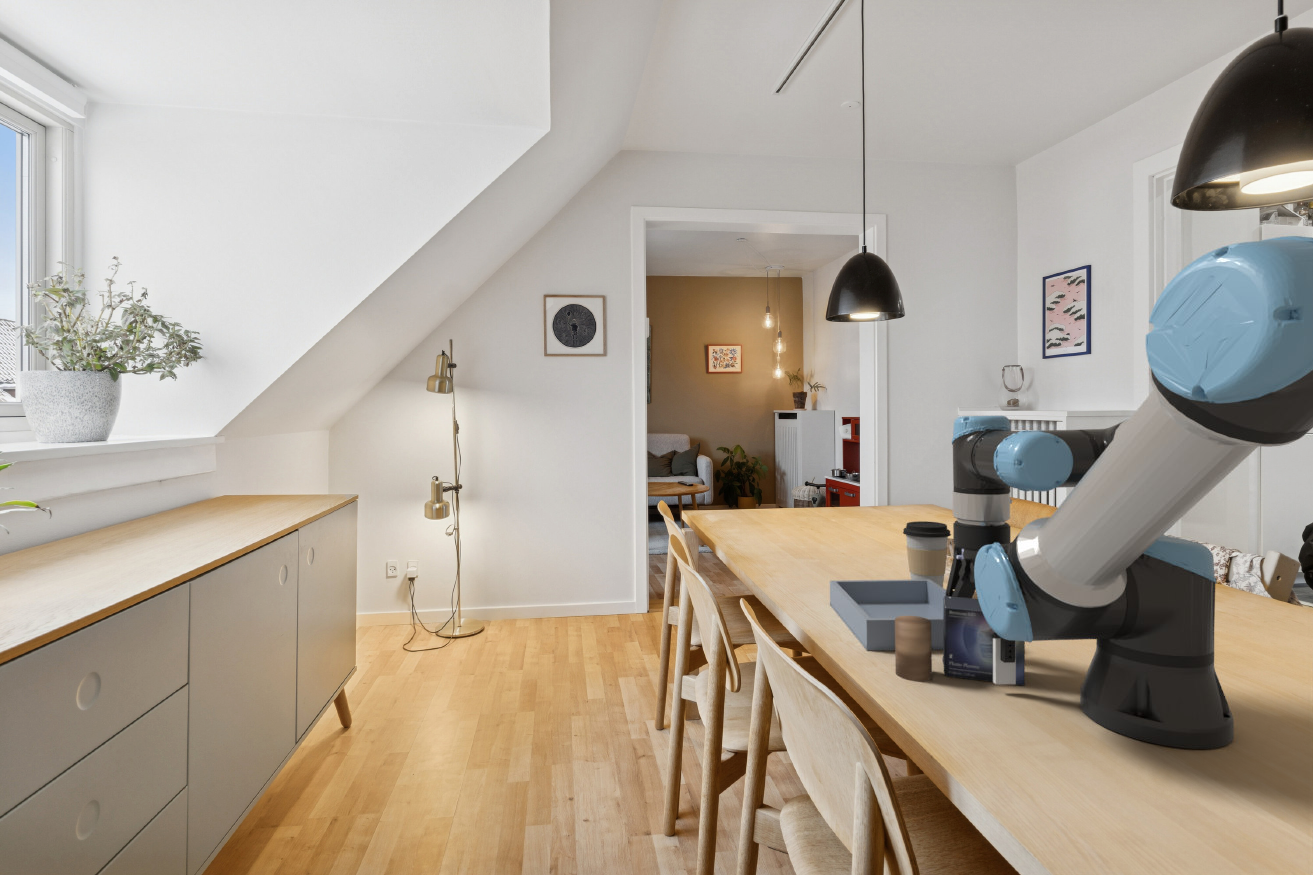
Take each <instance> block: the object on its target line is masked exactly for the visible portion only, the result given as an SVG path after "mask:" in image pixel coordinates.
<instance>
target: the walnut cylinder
mask: <svg viewBox="0 0 1313 875" xmlns="http://www.w3.org/2000/svg"><path fill="white" fill-rule="evenodd" d="M894 651H895V675H896V676H898V677H899V678H901V679H904V680H908V681H913V682H925V681H929V680H931V679H932V678H933V674H932V673H933V668H932V667H933V666H932V665H933V663H932V662H933V661H932V660H933V659H932V657H933V656H932V655H933V654H932V652H933V650H932V645H931V621H930V620H928V619H926V618H923V617H918V616H899V617H896V618H895V650H894Z"/></svg>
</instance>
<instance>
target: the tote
mask: <svg viewBox="0 0 1313 875" xmlns="http://www.w3.org/2000/svg"><path fill="white" fill-rule="evenodd" d="M946 589H947V588H944V586H943V587H941V586H939V585H938V584H936V583H935V582H933V581H932V580H930V579H923V580H911V579H859V580H855V579H854V580H851V579H850V580H849V579H848V580H845V579H844V580H829V606H830V607H831V609H833V611H834V612H835V613H836V614H837V615H838V617H839V618H840V619H841V620H842V621H843V623H844V625H845V626H846V627H847V628H848V630H850V632H851V633H852V634H853V635H854V636H855V638H856V639H857V640H858V641H859V643H860V644H861V645H862V646H863V647H864V648H865V650H866V651H867V652H869V651H895V618H896V617H899V616H918V617H923V618H926V619H928V620H930V621H931V645H932V651H943V605H944V602H943V597H944V596H946Z"/></svg>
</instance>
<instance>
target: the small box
mask: <svg viewBox="0 0 1313 875" xmlns="http://www.w3.org/2000/svg"><path fill="white" fill-rule="evenodd" d="M943 602H944V605H943V650H942V651H943V652H942V654H943V655H942V664H943V674H944V676H946V677H951V678H957V679H958V678H959V679H967V680H974V681H975V680H976V681H983V682H992V683H993V638H992V634H993V633H994V632H995V631H993V630H992V628H991V627H990V626H989V624H988V623H987V621H986V619H985V617H984V615H983V612H982V610H981V607H980V604H979V601H978V598H975V597H974V598H973V597H972V598H962V597H950V596H944V597H943ZM1025 648H1026V641H1016V684H1012V685H1014V686H1020V687H1021V686H1022V687H1025V686H1026V683H1025V682H1026V681H1025V667H1026V666H1025V663H1026V662H1025V661H1026V660H1025V659H1026V657H1025V656H1026V651H1025V650H1026V649H1025Z"/></svg>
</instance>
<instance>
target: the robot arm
mask: <svg viewBox="0 0 1313 875" xmlns="http://www.w3.org/2000/svg"><path fill="white" fill-rule="evenodd" d="M1148 319H1149V320H1148V322H1149V324H1152V325H1153V328H1152V330H1151V332H1149V333H1147V334H1146V335H1145V352H1146V353H1145V354H1146V357H1147V362H1148V365H1149V366H1148V367H1149V368H1148V376H1149V381H1150V383H1151V386H1152V388H1153V390H1152V391H1151V392H1150V393H1149V395H1148V396H1147V398H1146V399H1144V401H1143V402H1142V403H1141V405H1140V406H1139V407H1138V408H1137V410H1135V412H1134V413H1133V415H1132V416H1131V417H1130V418H1128V419H1126V420H1124V421H1122V422H1119V423H1117V424H1115V425H1111V426H1110V427H1106V428H1097V429H1096V428H1092V429H1090V428H1089V429H1087V428H1086V429H1085V428H1084V429H1056V430H1055V429H1052V430H1051V429H1046V430H1044V429H1043V430H1040V429H1039V430H1028V429H1026V430H1012V429H1011V422H1010V420H1009V418H1008V417H1007V416H1005V415H963V416H958V417H957V418H956V419H955V420H954V422H953V432H952V433H953V434H952V439H951V445H952V470H953V471H952V476H953V477H952V480H953V484H952V486H953V490H952V516H953V518H954V519H956V520H955V521H954V522H953V523H952V524H953V527H952V528H953V533H952V536H953V542H952V543H953V554H952V557H953V558H952V562H951V567H950V571H949V574H948V575H949V577H948V580H947V585H946V588H945V589H946V596H950V597H962V598H973V596H974V594H975V592H976V595H977V599H978V601H979V604H980V607H981V610H982V612H983V615H984V617H985V619H986V621H987V623H988V624H989V626H990V627H991V628H992V630H993V631H995V632H994V633H993V634H992V638H993V682H992V683H993V684H995V685H1013V684H1016V641H1025V643H1027V642H1028V643H1032V642H1038V641H1039V642H1042V641H1045V642H1046V641H1070V640H1071V641H1073V640H1075V641H1076V640H1078V641H1079V640H1081V641H1082V640H1096V647H1095V651H1094V655H1093V657H1092V659H1091V662H1090V663H1089V667H1088V669H1087V671H1086V673H1085V674H1086V675H1085V677H1084V680H1083V683H1082V684H1081V686H1080V692H1079V693H1080V695H1079V699H1080V704H1079V705H1080V710H1081V711H1082V713H1084V715H1085V716H1087V717H1088V719H1091V720H1092V721H1093V722H1095V723H1096V724H1099V725H1100V726H1102V727H1104V728H1106V729H1108V730H1111V731H1113V732H1116V733H1118V734H1121V735H1123V736H1126V737H1129V738H1131V739H1136V740H1140V741H1144V742H1148V743H1151V744H1155V745H1156V744H1157V745H1161V746H1165V747H1166V746H1167V747H1174V748H1180V749H1181V748H1182V749H1194V750H1202V749H1203V750H1206V749H1207V750H1208V749H1217V748H1220V747H1226V746H1227V745H1229V744H1230V743H1232V742H1233V740H1234V731H1235V729H1234V727H1235V726H1234V716H1233V714H1232V711H1231V710H1230V707H1229V703H1228V700H1227V698H1226V695H1225V692H1224V689H1223V687H1222V685H1221V682H1220V680H1219V677H1218V674H1217V671H1216V668H1215V617H1216V616H1215V614H1216V613H1215V612H1216V611H1215V610H1216V584H1217V583H1218V582H1217V578H1216V577H1215V560H1214V555H1213V552H1212V551H1211V550H1210V549H1209V548H1208V547H1207V546H1206V545H1204V544H1202V543H1199V542H1196V541H1193V540H1191V539H1190V540H1189V539H1186V538H1180V537H1176V536H1169V535H1164V534H1166V533H1167V532H1168V531H1169V530H1170V529H1171V528H1172V527H1173V526H1174V525H1175V524H1177V523H1178V522H1179V520H1181V518H1182V517H1184V516H1185V515H1186V514H1187V513H1188V512H1189V511H1191V509H1192V508H1194V507H1195V506H1196V505H1197V504H1198V503H1199V502H1200V501H1202V500H1203V499H1204V497H1205V496H1207V495H1208V494H1209V493H1210V492H1211V491H1212V490H1213V489H1215V487H1217V485H1218V484H1220V483H1221V482H1222V481H1223V480H1224V479H1225V478H1226V477H1227V476H1228V475H1230V473H1232V471H1233V470H1235V469H1236V468H1237V467H1238V466H1239V465H1240V464H1242V463H1243V462H1244V460H1246V459H1247V458H1248V457H1249V456H1250V455H1251V454H1252V453H1253V452H1254V451H1255V450H1257V448H1259V447H1266V448H1267V447H1282V446H1286V445H1290V444H1292V443H1294V442H1296V441H1298V440H1301V439H1302V438H1303V437H1304V436H1305V435H1306V434H1307V433H1309V431H1311V430H1312V429H1313V237H1311V236H1300V235H1299V236H1297V235H1293V236H1291V235H1289V236H1278V237H1273V238H1267V239H1261V240H1259V241H1258V240H1257V241H1244V242H1238V243H1232V244H1228V245H1225V246H1222V247H1219V248H1218V247H1217V248H1216V249H1213V250H1212V251H1209V252H1207V253H1205V254H1203V255H1201V256H1199V257H1198V258H1196V259H1195V260H1193V261H1192V262H1190V263H1189V264H1188V265H1186V266H1185V267H1184V268H1183V269H1181V271H1179V272H1178V273H1177V274H1175V276H1174V277H1173V278H1172V279H1171V280H1170V281H1169V283H1168V284H1167V285H1166V286H1165V287H1164V289H1163V291H1162V292H1161V294H1160V295H1159V297H1158V298H1157V300H1156V302H1155V304H1154V306H1153V308H1152V310H1151V313H1150V316H1149V318H1148ZM1011 488H1012V489H1017V490H1019V491H1023V492H1049V491H1052V490H1054V489H1057V488H1073V489H1072V490H1071V491H1070V492H1069V494H1068V495H1067V496H1066V497H1065V498H1064V500H1063V501H1062V503H1061V504H1060V505H1059V506H1058V507H1057V509H1056V510H1055V511H1054V512H1053V514H1052V515H1051V516H1045V517H1040V518H1037V519H1034V520H1032V521H1031V522H1029V523H1027V524H1026V525H1024V527H1023V528H1022V529H1021V530H1020V532H1018V534H1017V535H1016V537H1014V539H1013V541H1011V525H1010V524H1009V523H1008V520H1010V519H1011V504H1012V503H1013V498H1011ZM1182 519H1183V518H1182Z"/></svg>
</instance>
